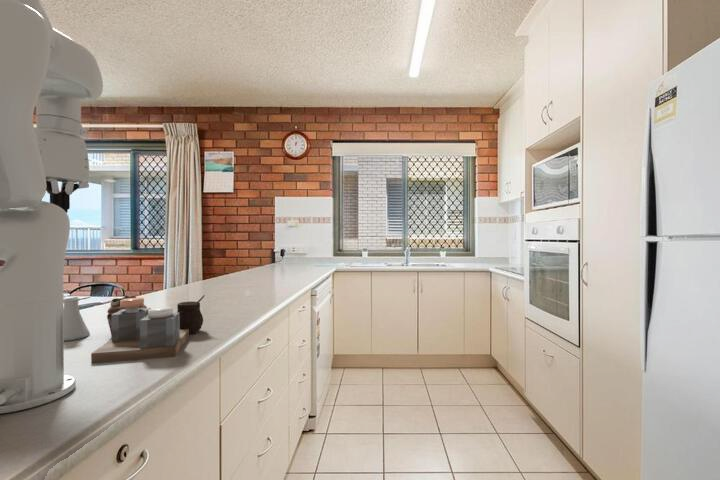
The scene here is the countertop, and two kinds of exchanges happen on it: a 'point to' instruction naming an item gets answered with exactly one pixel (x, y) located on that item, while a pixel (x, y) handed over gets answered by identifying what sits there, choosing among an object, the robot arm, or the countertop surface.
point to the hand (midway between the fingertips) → (59, 212)
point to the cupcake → (117, 309)
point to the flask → (73, 320)
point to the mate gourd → (190, 316)
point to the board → (141, 337)
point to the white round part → (160, 312)
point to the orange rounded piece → (131, 304)
